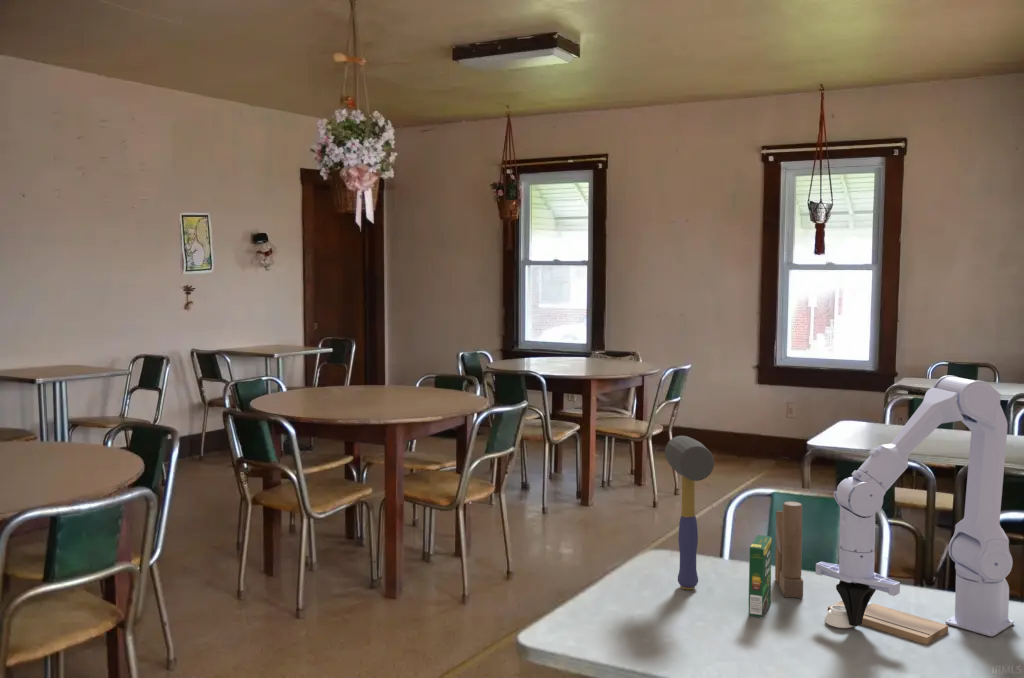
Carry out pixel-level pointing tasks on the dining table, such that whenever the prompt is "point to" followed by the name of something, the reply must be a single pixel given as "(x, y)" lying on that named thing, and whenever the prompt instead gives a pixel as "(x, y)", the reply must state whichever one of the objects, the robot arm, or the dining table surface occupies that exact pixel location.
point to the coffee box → (760, 576)
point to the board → (901, 623)
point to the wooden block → (789, 549)
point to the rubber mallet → (688, 499)
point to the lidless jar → (837, 617)
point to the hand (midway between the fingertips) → (855, 624)
